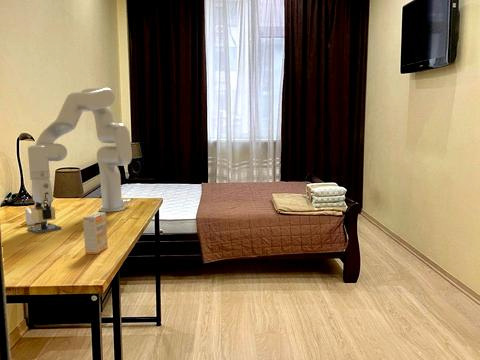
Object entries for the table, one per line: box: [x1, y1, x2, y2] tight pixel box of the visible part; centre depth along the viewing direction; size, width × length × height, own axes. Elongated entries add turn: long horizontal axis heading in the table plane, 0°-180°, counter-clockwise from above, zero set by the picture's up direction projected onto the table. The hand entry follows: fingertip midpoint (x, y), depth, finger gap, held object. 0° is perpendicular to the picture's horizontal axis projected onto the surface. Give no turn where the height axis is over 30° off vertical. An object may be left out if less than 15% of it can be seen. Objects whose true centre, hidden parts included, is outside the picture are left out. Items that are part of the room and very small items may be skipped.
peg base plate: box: [27, 221, 62, 235], centre depth 202 cm, size 10×10×7 cm
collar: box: [30, 205, 56, 223], centre depth 201 cm, size 7×7×5 cm
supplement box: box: [82, 211, 109, 255], centre depth 168 cm, size 8×5×13 cm, turn 170°
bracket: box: [24, 206, 41, 226], centre depth 218 cm, size 13×7×8 cm, turn 11°
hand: (43, 217), depth 202 cm, fingers closed on collar, 7 cm apart
